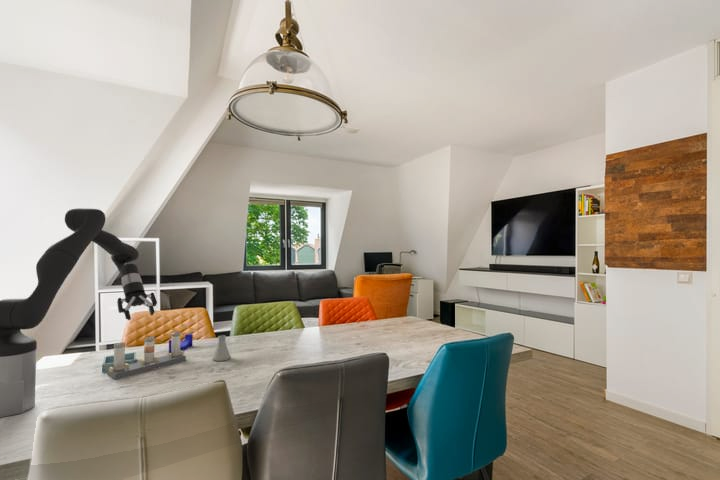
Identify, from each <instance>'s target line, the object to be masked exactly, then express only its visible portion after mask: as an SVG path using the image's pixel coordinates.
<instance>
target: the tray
mask: <svg viewBox="0 0 720 480" xmlns="http://www.w3.org/2000/svg"><path fill="white" fill-rule="evenodd" d="M125 363H127V364H132V363H137V352H136V351H135V352H128V353H127V352H126V353H125ZM109 367H112V368H113V367H114V354H113V355H108V356H107V355H105V356H104V357H103V361H102V366H101V370H102V371H101V373H107V372H108V369H109Z"/></svg>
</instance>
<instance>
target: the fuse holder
mask: <svg viewBox="0 0 720 480" xmlns="http://www.w3.org/2000/svg"><path fill="white" fill-rule="evenodd" d="M186 360H187V356H186V355H185V354H184V350H182V351H181V350H180V356H178V357H172V354H171V353H169V352H168V353H167V355H166V354H165V355H162V356H156V355H154V362H153V363H150V364H144V359H140V361H136V363H132V364H127V363H125V369H124V370H122V371H114V368H112V367H109V369H108V372H106V373H107V375H108V377H110V378H112V379H114V380H119V379H122V378H126V377H129V376H133V375H136V374H137V375H138V374H141V373H145V372H148V371H152V370H156V369H160V368H164V367H167V366H171V365H175V364H178V363H182V362H185V361H186ZM159 367H160V368H159Z"/></svg>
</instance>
